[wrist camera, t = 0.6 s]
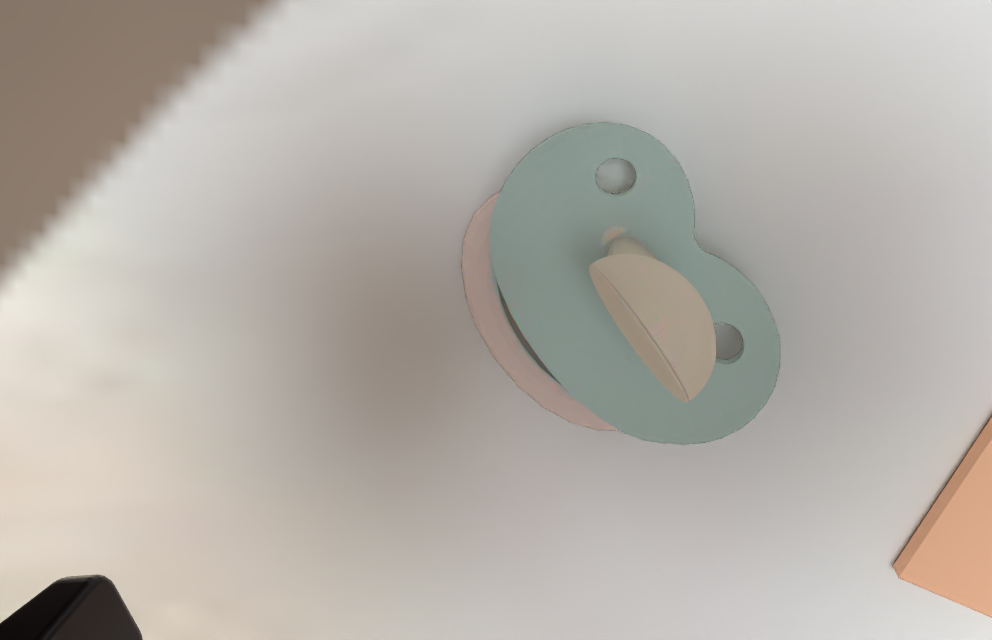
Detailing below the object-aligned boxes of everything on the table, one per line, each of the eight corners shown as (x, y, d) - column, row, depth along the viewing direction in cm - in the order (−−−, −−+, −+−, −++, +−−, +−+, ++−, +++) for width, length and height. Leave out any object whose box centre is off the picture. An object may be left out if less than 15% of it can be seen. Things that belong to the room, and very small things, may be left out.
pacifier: (581, 465, 23) (800, 347, 21) (557, 624, 17) (856, 481, 15) (411, 224, 22) (628, 76, 20) (321, 306, 16) (618, 107, 14)
